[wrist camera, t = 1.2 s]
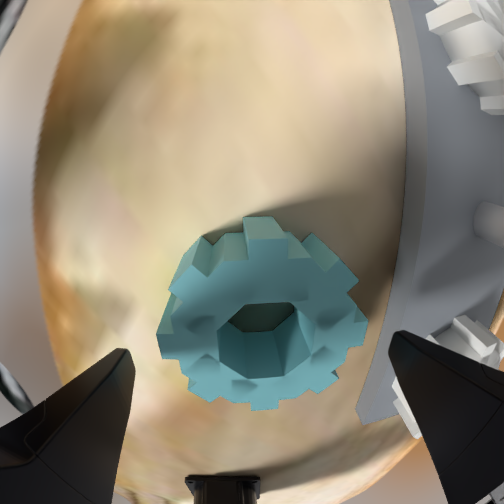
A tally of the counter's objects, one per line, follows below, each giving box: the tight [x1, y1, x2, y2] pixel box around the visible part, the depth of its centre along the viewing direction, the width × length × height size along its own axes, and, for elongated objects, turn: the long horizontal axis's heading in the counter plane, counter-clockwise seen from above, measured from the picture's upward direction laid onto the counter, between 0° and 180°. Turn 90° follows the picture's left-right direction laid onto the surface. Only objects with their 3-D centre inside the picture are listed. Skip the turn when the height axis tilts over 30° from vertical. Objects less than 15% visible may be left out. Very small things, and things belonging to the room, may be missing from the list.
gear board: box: [355, 0, 504, 439], centre depth 8 cm, size 26×9×6 cm, turn 0°
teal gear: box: [156, 216, 368, 411], centre depth 10 cm, size 7×7×3 cm
